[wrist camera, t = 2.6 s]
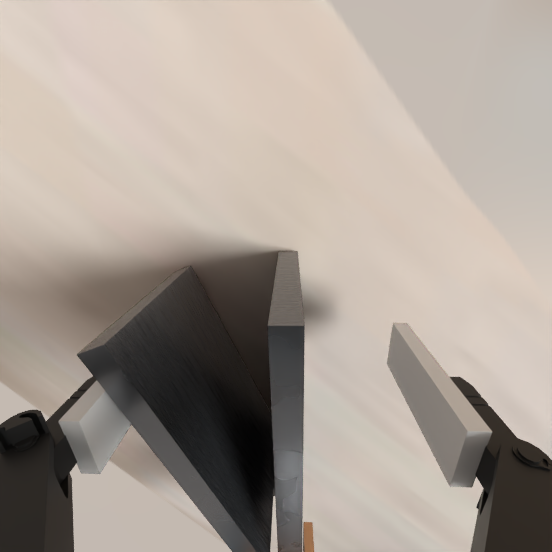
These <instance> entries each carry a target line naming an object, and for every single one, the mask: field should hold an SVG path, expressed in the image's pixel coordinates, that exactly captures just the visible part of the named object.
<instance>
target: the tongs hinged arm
mask: <svg viewBox="0 0 552 552" xmlns="http://www.w3.org/2000/svg"><path fill="white" fill-rule="evenodd" d="M77 356H78V357H79V358H80V359H81V361H82V362H83V363H84V365H85V366H86V367H87V368H88V370H89V371H90V372H91V373H92V375H93V376H94V377H95V378H96V380H97V381H98V382H99V384H100V385H101V386H102V387H103V389H104V390H105V391H106V392H107V394H108V395H109V396H110V397H111V399H112V400H113V401H114V402H115V404H116V405H117V406H118V408H119V409H120V410H121V411H122V413H123V414H124V415H125V416H126V418H127V419H128V420H129V421H130V423H131V424H132V425H133V427H134V428H135V429H136V430H137V432H138V433H139V434H140V435H141V437H142V438H143V439H144V440H145V442H146V443H147V444H148V445H149V447H150V448H151V449H152V451H153V452H154V453H155V454H156V456H157V457H158V458H159V459H160V461H161V462H162V463H163V464H164V466H165V467H166V468H167V470H168V471H169V472H170V473H171V475H172V476H173V477H174V478H175V480H176V481H177V482H178V483H179V485H180V486H181V487H182V488H183V490H184V491H185V492H186V494H187V495H188V496H189V497H190V499H191V500H192V501H193V502H194V504H195V505H196V506H197V507H198V509H199V510H200V511H201V513H202V514H203V515H204V516H205V518H206V519H207V520H208V521H209V523H210V524H211V525H212V526H213V528H214V529H215V530H216V531H217V533H218V534H219V535H220V537H221V538H222V539H223V540H224V542H225V543H226V544H227V545H228V547H229V548H230V549H231V550H232V552H270V543H271V525H272V506H273V488H274V453H273V431H272V414H271V412H270V410H269V409H268V407H267V405H266V403H265V401H264V399H263V397H262V396H261V394H260V392H259V390H258V388H257V386H256V385H255V383H254V381H253V379H252V377H251V375H250V374H249V372H248V370H247V368H246V366H245V364H244V363H243V361H242V359H241V357H240V355H239V353H238V352H237V350H236V348H235V346H234V344H233V342H232V340H231V339H230V337H229V335H228V333H227V331H226V329H225V328H224V326H223V324H222V322H221V320H220V318H219V317H218V315H217V313H216V311H215V309H214V307H213V306H212V304H211V302H210V300H209V298H208V296H207V294H206V293H205V291H204V289H203V287H202V285H201V283H200V282H199V280H198V278H197V276H196V274H195V272H194V271H193V269H192V267H191V266H188V267H186V268H183V269H181V270H178V271H176V272H174V273H173V274H172V275H171V276H170V277H168V278H167V279H166V280H165V281H164V282H162V283H161V284H160V285H159V286H158V287H156V288H155V289H154V290H153V291H152V292H151V293H149V294H148V295H147V296H146V297H145V298H143V299H142V300H141V301H140V302H139V303H137V304H136V305H135V306H134V307H133V308H131V309H130V310H129V311H128V312H127V313H126V314H124V315H123V316H122V317H121V318H120V319H118V320H117V321H116V322H115V323H114V324H112V325H111V326H110V327H109V328H108V329H106V330H105V331H104V332H103V333H102V334H100V335H99V336H98V337H97V338H96V339H95V340H93V341H92V342H91V343H90V344H89V345H87V346H86V347H85V348H84V349H83V350H81V351H80V352H79V353H78V354H77Z"/></svg>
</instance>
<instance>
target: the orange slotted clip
mask: <svg viewBox="0 0 552 552" xmlns="http://www.w3.org/2000/svg"><path fill="white" fill-rule="evenodd" d="M303 552H314V542H313V527H312V523H311V522H304V530H303Z"/></svg>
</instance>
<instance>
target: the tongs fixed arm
mask: <svg viewBox="0 0 552 552" xmlns="http://www.w3.org/2000/svg"><path fill="white" fill-rule="evenodd" d="M268 344H269V366H270V388H271V409H272V431H273V453H274V488H273V496H275V497H276V518H277V540H278V552H302V499H303V410H304V316H303V305H302V294H301V284H300V273H299V262H298V251H282V252H279V254H278V261H277V267H276V274H275V280H274V287H273V294H272V300H271V307H270V314H269V320H268Z"/></svg>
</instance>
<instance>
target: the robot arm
mask: <svg viewBox="0 0 552 552" xmlns="http://www.w3.org/2000/svg"><path fill="white" fill-rule="evenodd" d="M387 365H388V366H389V368H390V370H391V372H392V374H393V376H394V378H395V380H396V382H397V384H398V386H399V388H400V390H401V392H402V394H403V396H404V398H405V400H406V402H407V404H408V406H409V408H410V410H411V411H412V413H413V415H414V417H415V419H416V421H417V423H418V425H419V427H420V429H421V431H422V433H423V435H424V437H425V439H426V441H427V443H428V445H429V447H430V449H431V451H432V453H433V455H434V457H435V458H436V460H437V462H438V464H439V466H440V468H441V470H442V472H443V474H444V476H445V478H446V480H447V482H448V484H449V486H450V487H472V486H473V483H474V481H475V478H476V477H477V478H478V480H479V481H480V483H481V485H482V486H483V488H484V489H483V492H482V494H481V497H480V499H479V502H478V504H477V507H476V508H478V509H479V510H478V515H477V520H476V526H475V531H474V536H473V541H472V547H471V552H552V460H551V459H550V458H549V457H548V456H547V455H546V454H545V453H544V452H542V451H541V450H540V449H539V448H537V447H535V446H534V445H532V444H530V443H529V442H526V441H523V440H520V439H518V438H517V437H516V436H515V435H514V434H513V432H512V431H511V430H510V429H509V428H508V427H507V426H506V424H505V423H504V422H503V421H502V420H501V419H500V417H499V416H498V415H497V414H496V413H495V412H494V410H493V409H492V408H491V407H490V406H488V403H487V402H486V401H485V400H484V399H483V398H481V395H480V394H479V393H478V392H477V391H476V389H475V388H474V387H473V386H472V385H471V384H469V383H468V382H466V381H465V380H463V379H462V378H461V377H449V376H448V375H447V373H446V372H445V371H444V370H443V368H442V367H441V366H440V364H439V363H438V362H437V361H436V359H435V358H434V357H433V356H432V354H431V353H430V352H429V350H428V349H427V348H426V347H425V345H424V344H423V343H422V342H421V340H420V339H419V338H418V336H417V335H416V334H415V333H414V331H413V330H412V329H411V327H410V326H409V325H408V324H407V323H393V327H392V333H391V340H390V347H389V353H388V360H387ZM130 426H131V423H130V421H129V420H128V419H127V418H126V416H125V415H124V414H123V413H122V411H121V410H120V409H119V408H118V406H117V405H116V404H115V402H114V401H113V400H112V399H111V397H110V396H109V395H108V394H107V392H106V391H105V390H104V389H103V387H102V386H101V385H100V384H99V382H98V381H97V380H96V378H95V377H94V376H93V377H91V378H90V379H88V380H87V381H86V382H85V383H84V384H83V385H82V386H81V387H80V388H79V389H78V391H76V392H75V393H74V394H73V395H72V396H71V397H70V399H68V400H67V401H66V402H65V403H64V404H63V405H62V406H61V407H60V408H59V409H58V410H57V411H56V412H55V413H54V414H53V415H52V416H51V417H50V418H49V419H48V420H47V421H45V419H44V417H43V415H42V413H41V411H38V410H28V411H25V412H22V413H19V414H17V415H15V416H13V417H11V418H9V419H8V420H6V421H5V422H3V423H2V424H1V425H0V552H74V537H73V508H72V507H73V504H72V478H71V476H70V473H69V472H70V471H71V470H72V468H73V467H74V466H75V464H76V463H77V465H78V467H79V469H80V472H81V473H89V474H100V473H101V471H102V470H103V468H104V467H105V465H106V463H107V462H108V460H109V459H110V457H111V456H112V454H113V453H114V451H115V449H116V448H117V446H118V445H119V443H120V442H121V440H122V438H123V437H124V435H125V434H126V432H127V431H128V429H129V427H130Z"/></svg>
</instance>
